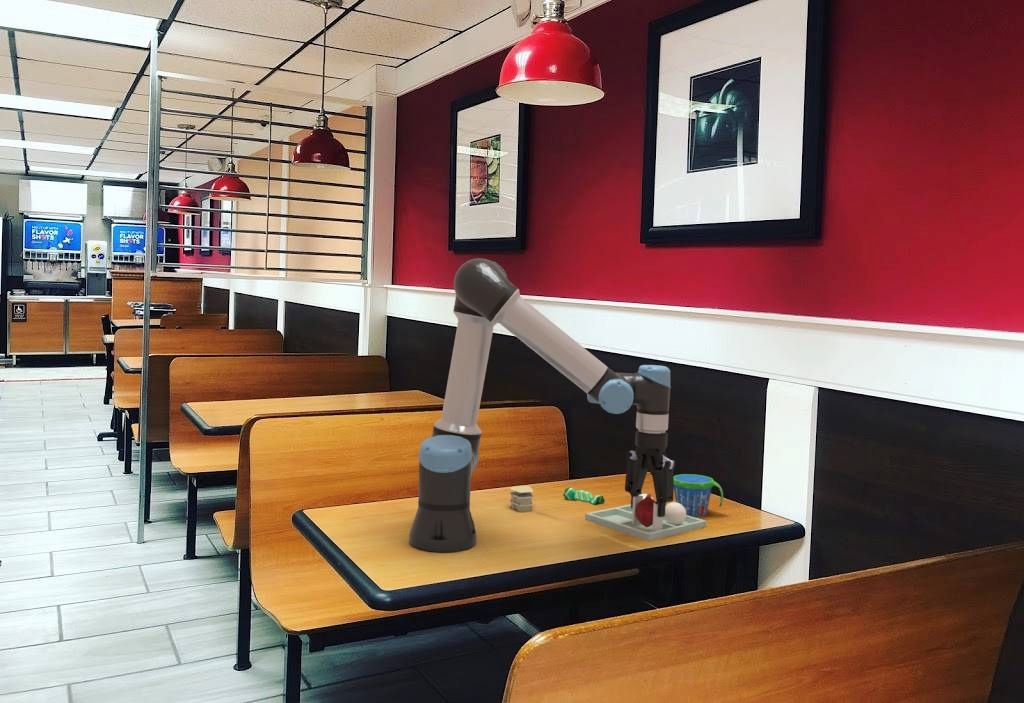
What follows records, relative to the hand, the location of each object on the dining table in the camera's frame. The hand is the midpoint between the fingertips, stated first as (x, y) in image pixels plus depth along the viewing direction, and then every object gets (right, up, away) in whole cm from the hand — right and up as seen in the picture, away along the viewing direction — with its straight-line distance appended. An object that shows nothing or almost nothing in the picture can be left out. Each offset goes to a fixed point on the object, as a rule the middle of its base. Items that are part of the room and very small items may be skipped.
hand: (646, 525), depth 201 cm
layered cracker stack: (-30, 0, +21) cm, 36 cm away
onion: (0, 0, 0) cm, 0 cm away
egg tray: (+1, -2, +7) cm, 7 cm away
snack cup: (+15, -2, +19) cm, 24 cm away
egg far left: (+1, 0, +14) cm, 14 cm away
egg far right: (+8, -1, +6) cm, 10 cm away
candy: (-13, 0, +29) cm, 31 cm away
